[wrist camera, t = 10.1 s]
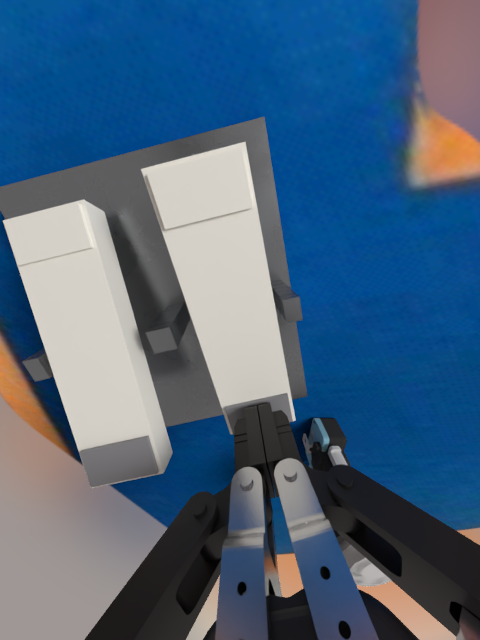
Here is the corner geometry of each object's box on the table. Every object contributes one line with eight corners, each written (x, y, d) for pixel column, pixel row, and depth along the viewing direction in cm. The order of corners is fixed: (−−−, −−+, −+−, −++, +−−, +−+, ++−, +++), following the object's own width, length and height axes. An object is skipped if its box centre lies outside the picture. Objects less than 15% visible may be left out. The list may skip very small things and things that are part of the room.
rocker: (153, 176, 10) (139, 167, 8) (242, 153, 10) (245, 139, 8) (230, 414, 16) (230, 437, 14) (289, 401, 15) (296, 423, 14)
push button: (334, 463, 25) (397, 602, 16) (285, 463, 25) (320, 605, 15) (349, 414, 23) (435, 543, 13) (295, 413, 22) (344, 544, 13)
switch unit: (25, 197, 15) (-127, 172, 8) (258, 135, 14) (282, 60, 8) (134, 413, 21) (94, 490, 15) (298, 376, 21) (328, 441, 14)
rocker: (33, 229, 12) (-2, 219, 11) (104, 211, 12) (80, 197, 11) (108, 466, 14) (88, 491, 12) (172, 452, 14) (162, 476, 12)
